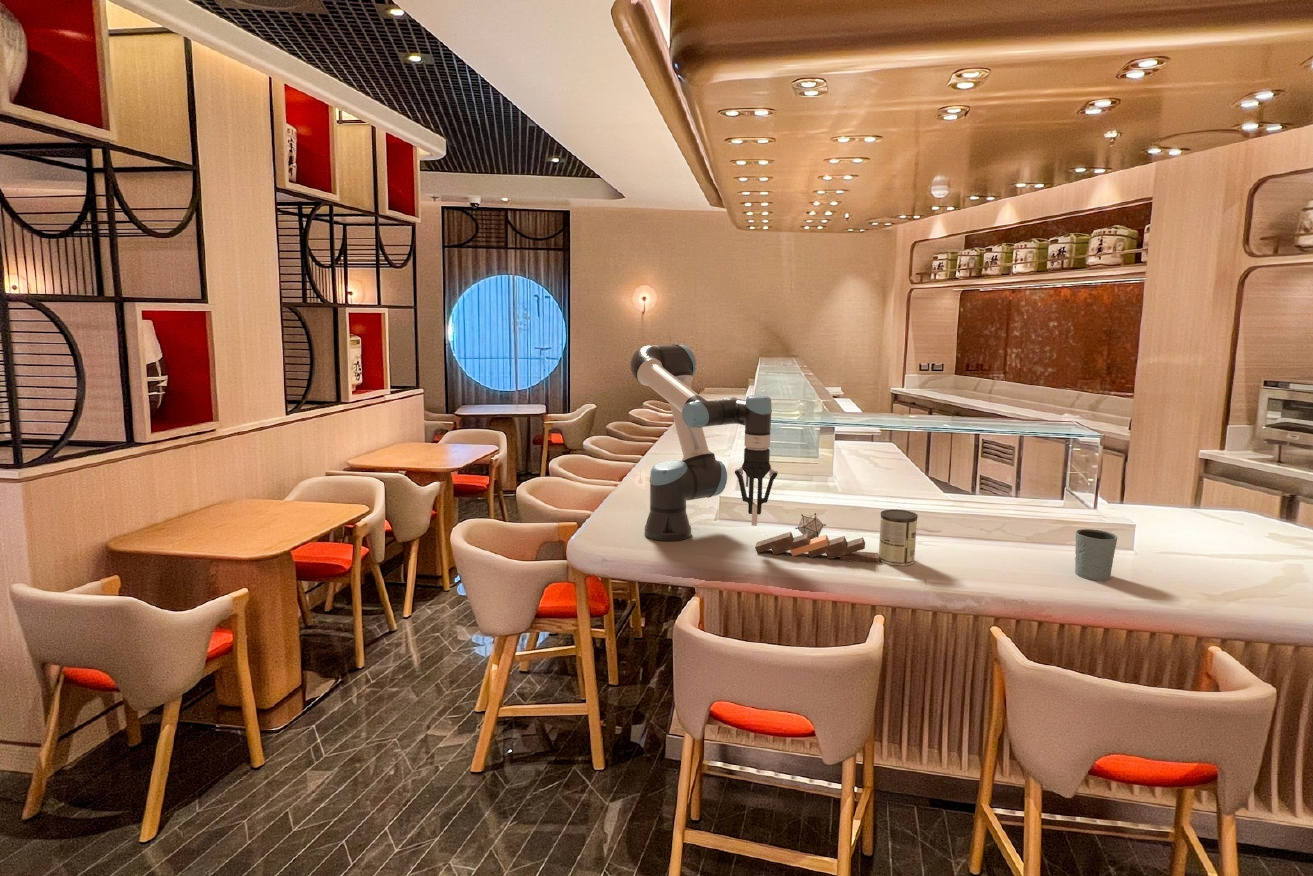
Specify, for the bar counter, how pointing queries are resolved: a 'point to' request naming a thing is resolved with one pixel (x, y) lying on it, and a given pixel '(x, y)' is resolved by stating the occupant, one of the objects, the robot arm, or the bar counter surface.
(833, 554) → the domino
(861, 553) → the domino
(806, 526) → the game die
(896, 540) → the coffee can
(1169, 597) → the bar counter surface
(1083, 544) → the grey green cup
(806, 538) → the domino
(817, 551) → the domino
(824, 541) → the domino
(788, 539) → the domino
